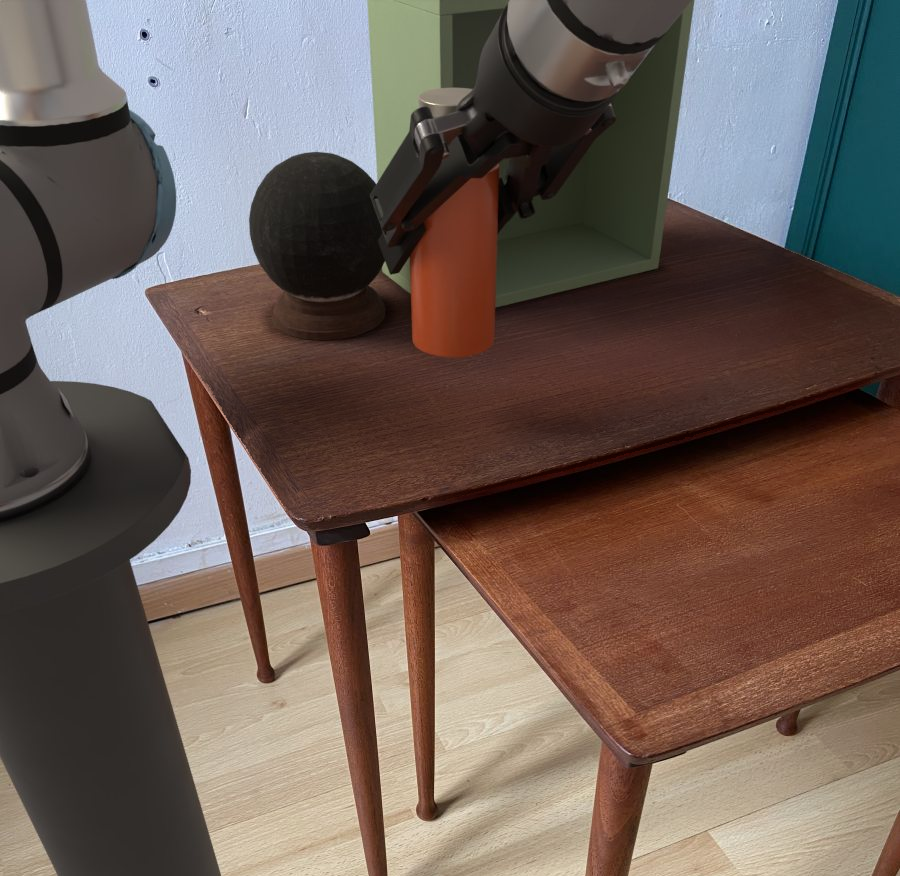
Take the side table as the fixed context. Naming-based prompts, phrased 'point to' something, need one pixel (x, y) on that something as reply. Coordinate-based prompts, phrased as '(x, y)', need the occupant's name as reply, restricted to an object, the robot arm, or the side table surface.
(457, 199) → the spray can
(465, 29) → the cupboard
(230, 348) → the side table surface
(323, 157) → the black ball on stand
